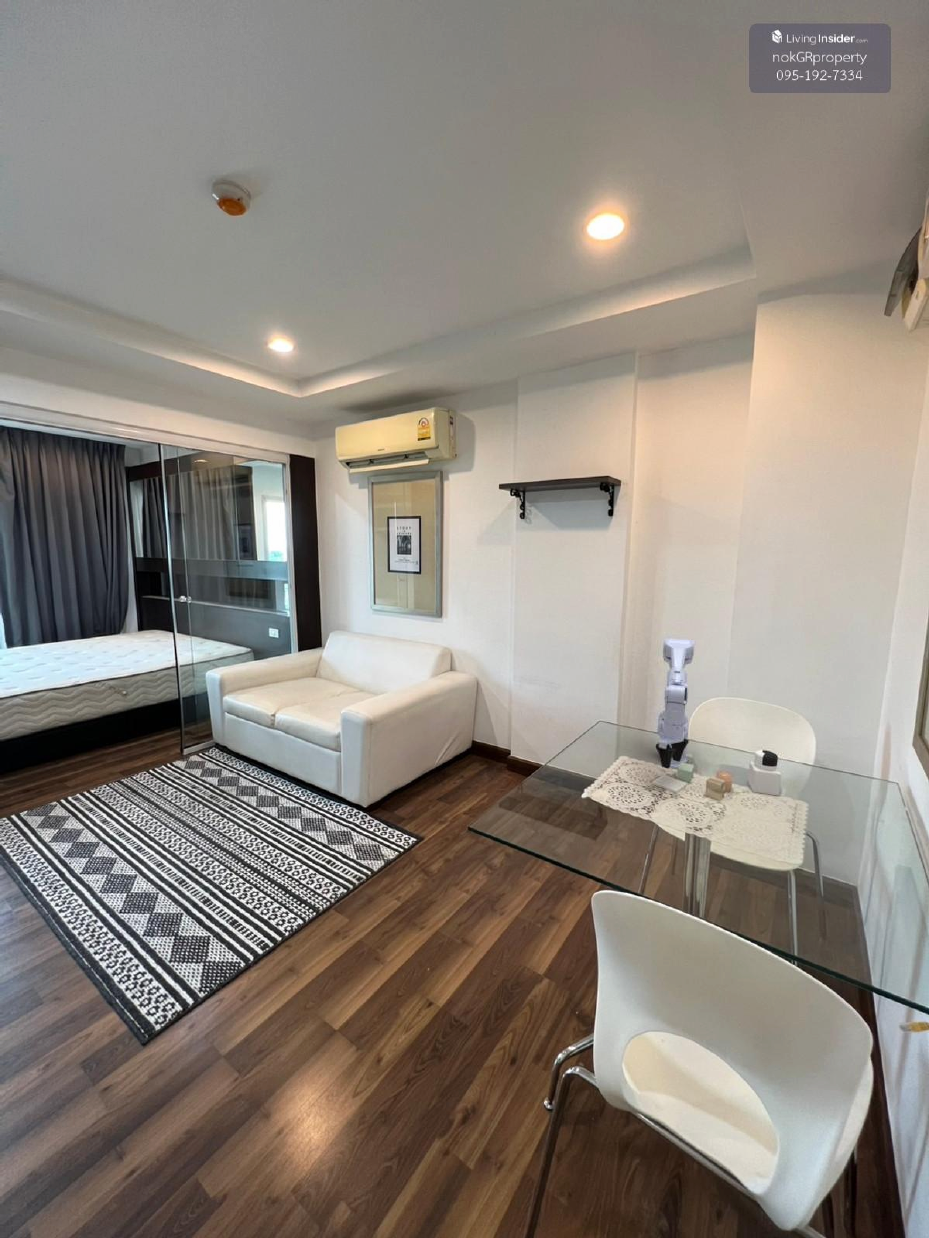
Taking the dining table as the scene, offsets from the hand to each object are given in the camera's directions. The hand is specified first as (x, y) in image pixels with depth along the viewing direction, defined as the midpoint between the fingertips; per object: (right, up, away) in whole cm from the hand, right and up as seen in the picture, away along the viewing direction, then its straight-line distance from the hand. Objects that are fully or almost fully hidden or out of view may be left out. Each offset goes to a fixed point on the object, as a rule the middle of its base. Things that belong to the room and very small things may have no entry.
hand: (670, 763), depth 152 cm
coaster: (0, -7, +1) cm, 7 cm away
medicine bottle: (+28, -8, -1) cm, 29 cm away
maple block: (+11, -8, -6) cm, 15 cm away
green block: (+5, -5, +3) cm, 8 cm away
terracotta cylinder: (+16, -7, -2) cm, 17 cm away
